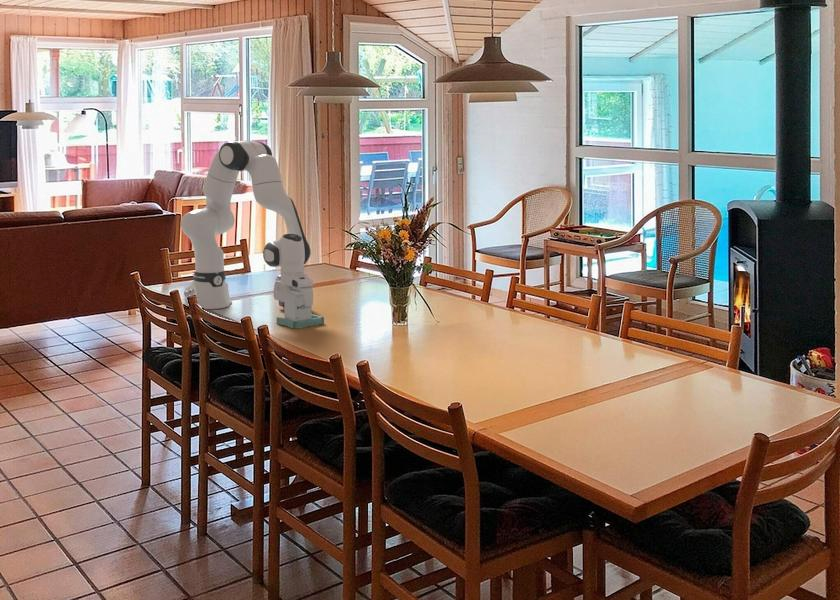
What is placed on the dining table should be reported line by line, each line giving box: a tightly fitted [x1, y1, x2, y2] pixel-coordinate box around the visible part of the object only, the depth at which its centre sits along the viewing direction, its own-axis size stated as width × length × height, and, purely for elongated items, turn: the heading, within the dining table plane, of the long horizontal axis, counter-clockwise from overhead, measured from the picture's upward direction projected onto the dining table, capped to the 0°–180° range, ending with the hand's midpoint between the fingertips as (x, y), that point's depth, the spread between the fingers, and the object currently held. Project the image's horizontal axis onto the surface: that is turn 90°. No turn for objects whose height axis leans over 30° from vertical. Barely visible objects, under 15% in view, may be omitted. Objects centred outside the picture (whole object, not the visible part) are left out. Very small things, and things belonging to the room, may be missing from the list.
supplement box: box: [283, 290, 313, 321], centre depth 340 cm, size 7×7×13 cm
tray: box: [275, 313, 325, 329], centre depth 343 cm, size 12×13×2 cm
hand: (292, 315), depth 347 cm, fingers closed
